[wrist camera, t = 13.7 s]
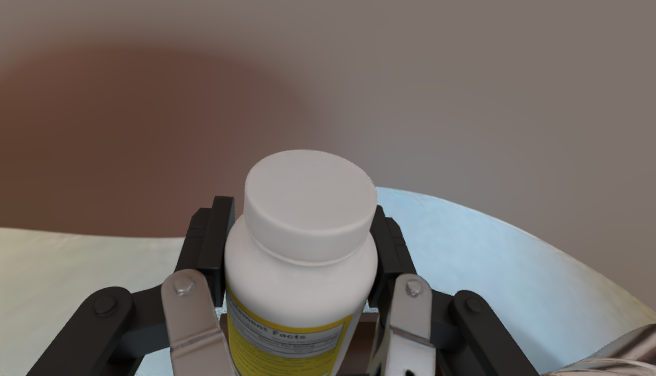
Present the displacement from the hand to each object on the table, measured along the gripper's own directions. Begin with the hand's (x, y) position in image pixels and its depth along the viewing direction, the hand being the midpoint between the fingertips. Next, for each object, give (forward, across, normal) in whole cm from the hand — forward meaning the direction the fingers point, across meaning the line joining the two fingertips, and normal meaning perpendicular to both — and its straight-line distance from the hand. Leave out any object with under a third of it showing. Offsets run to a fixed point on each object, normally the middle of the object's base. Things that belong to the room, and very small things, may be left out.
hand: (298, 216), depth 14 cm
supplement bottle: (-3, 0, +6) cm, 7 cm away
